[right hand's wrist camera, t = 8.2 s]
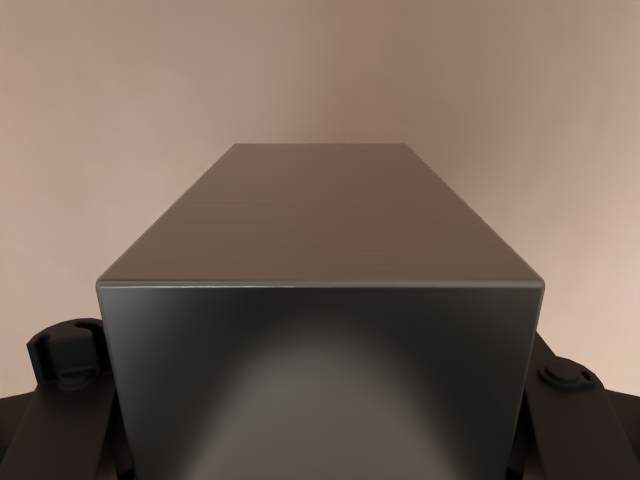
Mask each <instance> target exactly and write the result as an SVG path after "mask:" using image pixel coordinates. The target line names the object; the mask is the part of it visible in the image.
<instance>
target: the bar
mask: <svg viewBox="0 0 640 480" xmlns="http://www.w3.org/2000/svg"><path fill="white" fill-rule="evenodd" d="M544 291H545V283H544V280H543V279H542V278H541V277H540V276H539V275H538V274H537V273H536V272H535V271H534V270H533V269H532V268H531V267H530V266H529V265H528V264H527V263H526V262H525V261H524V260H523V259H522V258H521V257H520V256H519V255H518V254H517V253H516V252H515V251H514V250H513V249H512V248H511V247H510V246H509V245H508V244H507V243H506V242H505V241H504V240H503V239H502V238H501V237H500V236H499V235H498V234H497V233H496V232H495V231H494V230H493V229H492V228H491V227H490V226H489V225H488V224H487V223H486V222H485V221H484V220H483V219H482V218H481V217H480V216H479V215H478V214H476V213H475V212H474V211H473V210H472V209H471V208H470V207H469V206H468V205H467V204H466V203H465V202H464V201H463V200H462V199H461V198H460V197H459V196H458V195H457V194H456V193H455V192H454V191H453V190H452V189H451V188H450V187H449V186H448V185H447V184H446V183H445V182H444V181H443V180H442V179H441V178H440V177H439V176H438V175H437V174H436V173H435V172H434V171H433V170H432V169H431V168H430V167H429V166H428V165H427V164H426V163H425V162H424V161H423V160H422V159H421V158H420V157H419V156H418V155H417V154H416V153H415V152H414V151H413V150H412V149H411V148H409V147H408V146H407V145H406V144H234V145H233V146H232V147H231V148H230V149H229V150H228V151H227V152H226V153H225V154H224V155H223V156H222V157H221V158H220V159H219V160H218V161H217V162H216V163H215V164H214V165H213V166H212V167H211V168H210V169H209V170H207V171H206V172H205V173H204V174H203V175H202V176H201V177H200V178H199V179H198V180H197V181H196V182H195V183H194V184H193V185H192V186H191V187H190V188H189V189H188V190H187V191H186V192H185V193H184V194H183V195H182V196H181V197H180V198H179V199H178V200H177V201H176V202H175V203H174V204H173V205H172V206H171V207H170V208H169V209H168V210H167V211H166V212H165V213H164V214H163V215H162V216H161V217H160V218H159V219H158V220H157V221H156V222H155V223H154V224H153V225H152V226H151V227H150V228H149V229H148V230H147V231H146V232H145V233H144V234H143V235H142V236H141V237H140V238H139V239H138V240H137V241H136V242H135V243H134V244H133V245H132V246H131V247H130V248H129V249H128V250H127V251H126V252H125V253H124V254H123V255H121V256H120V257H119V258H118V259H117V260H116V261H115V262H114V263H113V264H112V265H111V266H110V267H109V268H108V269H107V270H106V271H105V272H104V273H103V274H102V275H101V276H100V277H99V278H98V279H97V282H96V292H97V297H98V302H99V306H100V311H101V316H102V321H103V326H104V331H105V335H106V340H107V345H108V350H109V355H110V360H111V364H112V369H113V374H114V379H115V384H116V389H117V393H118V398H119V403H120V408H121V413H122V417H123V422H124V427H125V432H126V437H127V442H128V446H129V451H130V456H131V461H132V466H133V471H134V475H135V480H505V478H506V473H507V469H508V464H509V459H510V454H511V449H512V444H513V440H514V435H515V430H516V425H517V420H518V416H519V411H520V406H521V401H522V396H523V392H524V387H525V382H526V377H527V372H528V368H529V363H530V358H531V353H532V348H533V344H534V339H535V334H536V329H537V324H538V320H539V315H540V310H541V305H542V300H543V295H544Z"/></svg>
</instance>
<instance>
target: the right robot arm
mask: <svg viewBox="0 0 640 480" xmlns="http://www.w3.org/2000/svg"><path fill="white" fill-rule="evenodd" d="M26 345H27V348H28V352H29V355H30V359H31V362H32V366H33V369H34V373H35V376H36V380H37V383H38V385H37V387H36V389H35V391H33V392H29V393H26V394H21V395H16V396H11V397H6V398H1V399H0V480H135V475H134V471H133V466H132V461H131V456H130V451H129V446H128V442H127V437H126V432H125V427H124V422H123V417H122V413H121V408H120V403H119V398H118V393H117V389H116V384H115V379H114V374H113V369H112V364H111V360H110V355H109V350H108V345H107V340H106V335H105V331H104V326H103V321H102V320H99V319H94V318H81V319H74V320H69V321H64V322H61V323H58V324H56V325H53V326H50V327H48V328H46V329H44V330H43V331H41V332H39V333H38V334H36V335H34V336H33V338H32V339H31V340H30V341H29V342H28V343H27V344H26ZM505 480H640V397H639V396H634V395H629V394H624V393H619V392H615V391H611V390H607V389H605V388H604V386H603V384H602V382H601V381H600V380H599V379H598V377H597V376H596V375H595V374H594V373H593V372H591V371H590V370H589V369H587V368H586V367H585V366H583V365H581V364H579V363H576V362H574V361H572V360H570V359H566V358H562V357H558V356H556V355H555V354H554V353H553V352H552V350H551V349H550V348H549V347H548V345H547V344H546V343H545V342H544V340H543V339H542V338H541V337H540V335H539V334H538V333H537V331H536V334H535V339H534V344H533V348H532V353H531V358H530V363H529V368H528V372H527V377H526V382H525V387H524V392H523V396H522V401H521V406H520V411H519V416H518V420H517V425H516V430H515V435H514V440H513V444H512V449H511V454H510V459H509V464H508V469H507V473H506V478H505Z"/></svg>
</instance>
